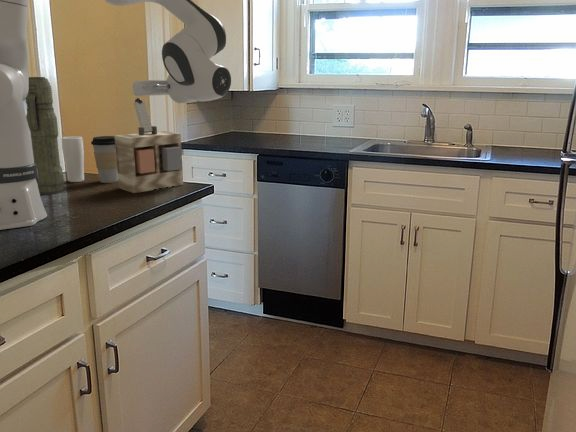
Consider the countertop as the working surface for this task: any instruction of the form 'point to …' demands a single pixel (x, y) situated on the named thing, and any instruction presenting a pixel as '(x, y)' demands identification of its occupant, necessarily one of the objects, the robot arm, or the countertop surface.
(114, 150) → the coffee cup
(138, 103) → the toggle lever
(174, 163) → the key charcoal
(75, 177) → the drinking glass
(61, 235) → the countertop surface
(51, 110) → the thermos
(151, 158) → the key terracotta
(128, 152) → the console
